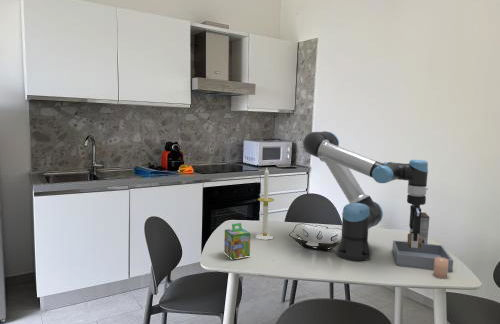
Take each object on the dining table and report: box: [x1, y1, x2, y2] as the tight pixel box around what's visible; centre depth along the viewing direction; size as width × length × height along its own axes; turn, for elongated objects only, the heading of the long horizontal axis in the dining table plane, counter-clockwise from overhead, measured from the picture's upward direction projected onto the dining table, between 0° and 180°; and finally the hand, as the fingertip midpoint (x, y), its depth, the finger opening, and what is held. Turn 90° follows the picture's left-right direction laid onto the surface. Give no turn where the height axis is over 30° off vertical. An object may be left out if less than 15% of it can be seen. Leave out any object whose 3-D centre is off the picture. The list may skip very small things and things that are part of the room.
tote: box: [391, 240, 454, 273], centre depth 167 cm, size 22×20×5 cm
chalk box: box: [223, 222, 251, 259], centre depth 167 cm, size 9×9×15 cm
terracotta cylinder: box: [432, 257, 449, 279], centre depth 150 cm, size 5×5×7 cm
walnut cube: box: [406, 233, 422, 249], centre depth 167 cm, size 5×5×5 cm
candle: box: [257, 167, 275, 236], centre depth 193 cm, size 10×10×38 cm
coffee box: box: [420, 211, 430, 244], centre depth 187 cm, size 9×6×16 cm
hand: (413, 245), depth 167 cm, fingers closed on walnut cube, 5 cm apart
